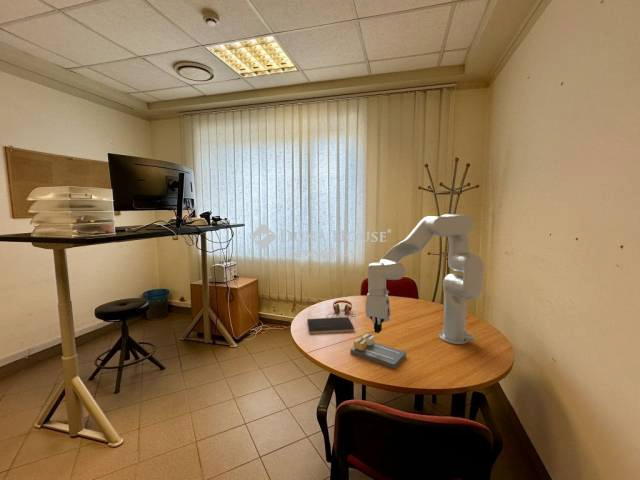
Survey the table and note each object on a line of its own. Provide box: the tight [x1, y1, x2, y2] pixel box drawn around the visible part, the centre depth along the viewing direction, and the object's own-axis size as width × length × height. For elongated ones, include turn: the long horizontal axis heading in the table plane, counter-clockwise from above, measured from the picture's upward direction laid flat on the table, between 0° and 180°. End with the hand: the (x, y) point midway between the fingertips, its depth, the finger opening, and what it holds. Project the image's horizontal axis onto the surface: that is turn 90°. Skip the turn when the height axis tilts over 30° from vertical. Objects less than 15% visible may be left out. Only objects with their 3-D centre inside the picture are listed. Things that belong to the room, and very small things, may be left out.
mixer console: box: [350, 341, 407, 370], centre depth 121 cm, size 20×12×2 cm, turn 52°
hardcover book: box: [307, 316, 355, 335], centre depth 151 cm, size 16×23×2 cm
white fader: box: [361, 333, 376, 346], centre depth 127 cm, size 4×4×4 cm
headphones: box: [327, 299, 357, 320], centre depth 170 cm, size 17×5×20 cm
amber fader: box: [353, 337, 367, 351], centre depth 123 cm, size 4×4×4 cm
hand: (377, 331), depth 125 cm, fingers closed
